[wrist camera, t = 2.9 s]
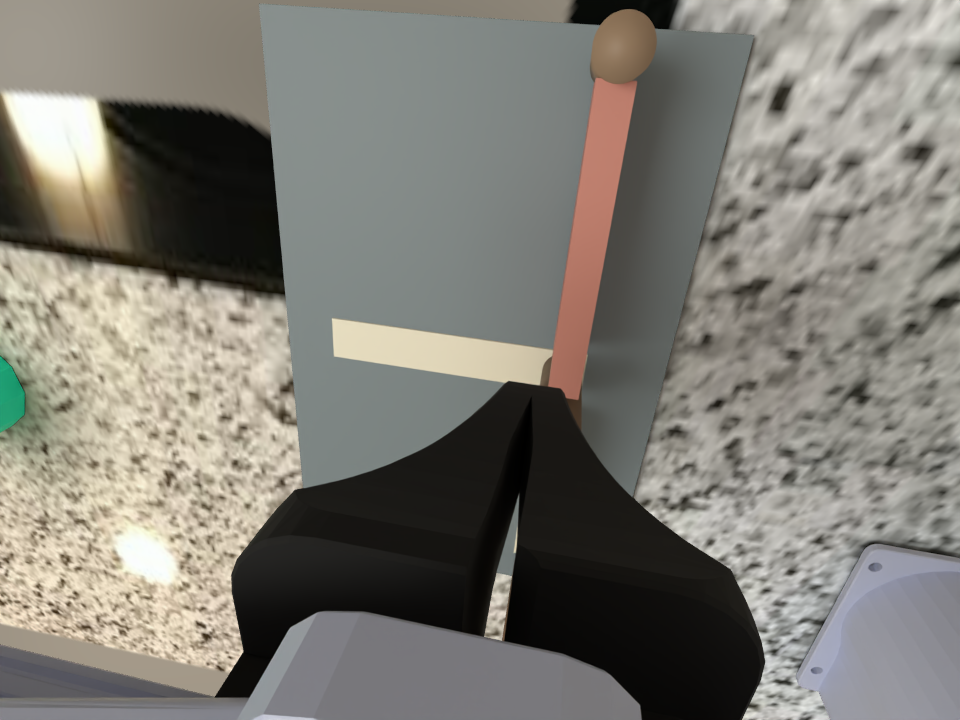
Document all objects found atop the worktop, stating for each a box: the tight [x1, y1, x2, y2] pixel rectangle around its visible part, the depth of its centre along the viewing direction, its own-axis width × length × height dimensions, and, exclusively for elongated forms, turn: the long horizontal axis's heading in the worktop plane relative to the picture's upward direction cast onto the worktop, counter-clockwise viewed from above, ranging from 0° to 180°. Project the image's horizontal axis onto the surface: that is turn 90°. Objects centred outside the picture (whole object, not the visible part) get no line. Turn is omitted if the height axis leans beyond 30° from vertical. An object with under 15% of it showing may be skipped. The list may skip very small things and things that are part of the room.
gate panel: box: [548, 9, 657, 400], centre depth 16 cm, size 10×1×5 cm, turn 176°
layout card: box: [259, 4, 754, 576], centre depth 22 cm, size 24×16×1 cm, turn 176°
